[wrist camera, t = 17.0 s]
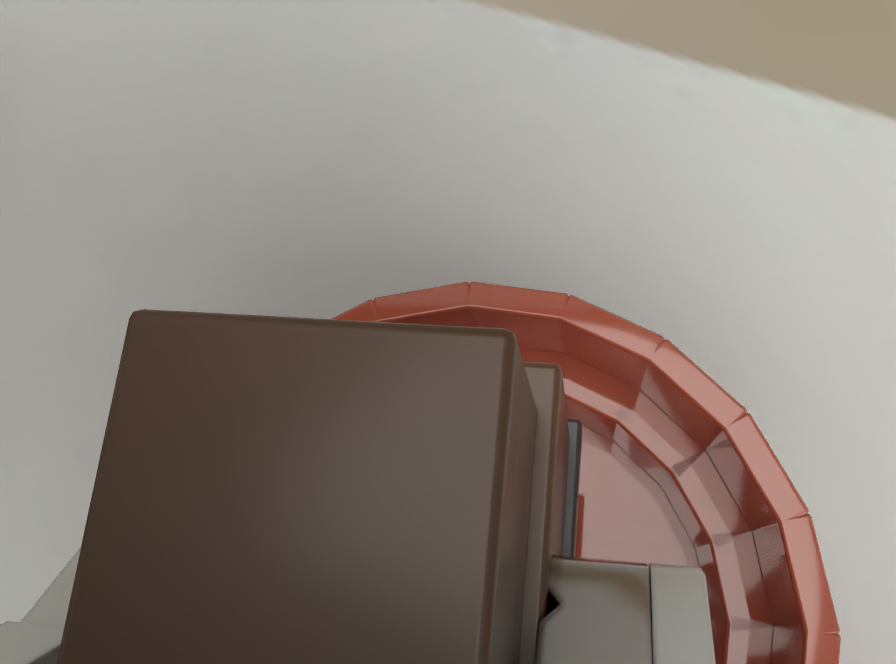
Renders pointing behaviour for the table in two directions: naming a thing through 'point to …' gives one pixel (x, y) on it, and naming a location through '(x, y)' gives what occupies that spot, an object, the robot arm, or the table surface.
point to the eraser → (323, 496)
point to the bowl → (663, 466)
